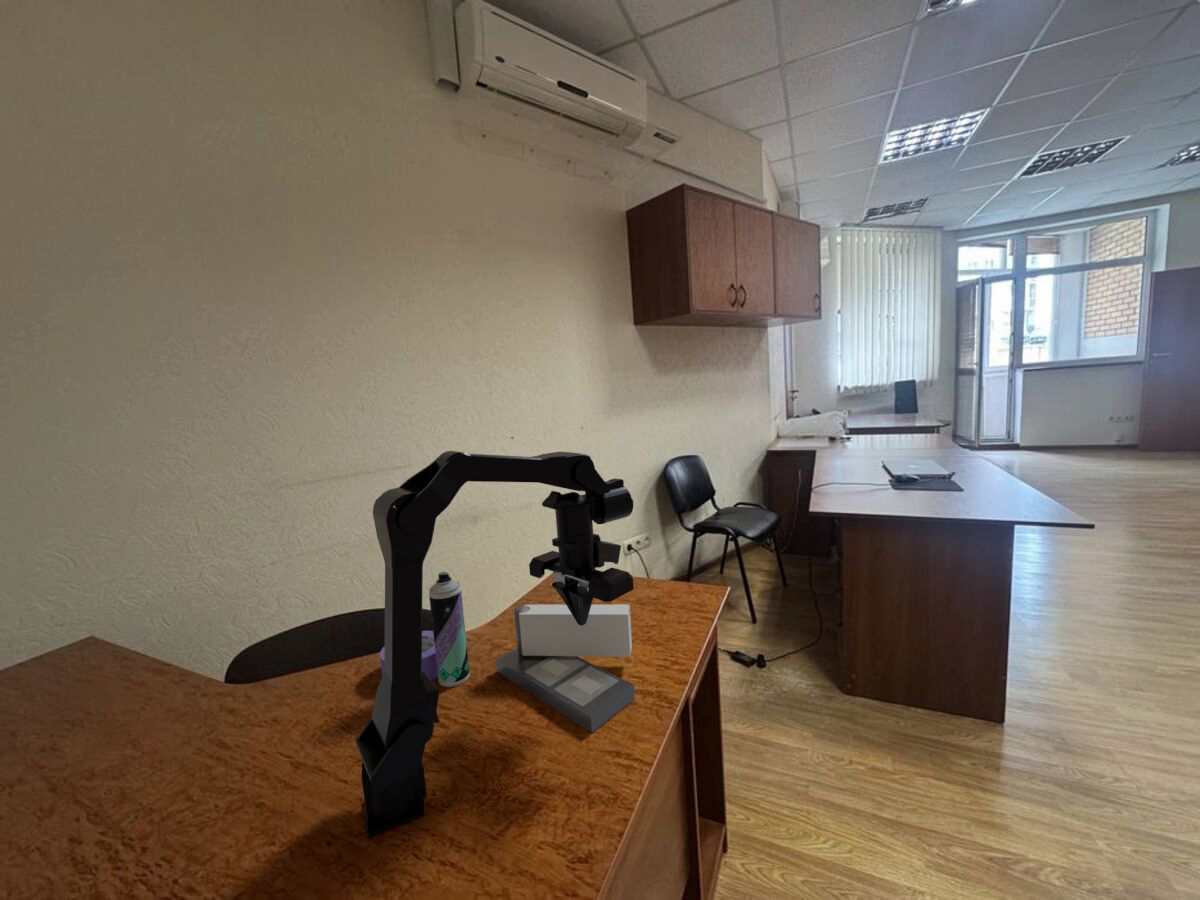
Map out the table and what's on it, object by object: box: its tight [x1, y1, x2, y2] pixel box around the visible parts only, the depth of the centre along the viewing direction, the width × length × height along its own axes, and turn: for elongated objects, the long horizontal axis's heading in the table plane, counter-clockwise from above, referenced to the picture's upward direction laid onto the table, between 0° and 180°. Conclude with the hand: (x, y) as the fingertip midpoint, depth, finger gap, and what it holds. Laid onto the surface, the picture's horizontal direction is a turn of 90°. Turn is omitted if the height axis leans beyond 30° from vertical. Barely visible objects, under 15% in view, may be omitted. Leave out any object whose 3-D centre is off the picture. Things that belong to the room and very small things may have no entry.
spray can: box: [428, 571, 471, 688], centre depth 85 cm, size 6×6×20 cm
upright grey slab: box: [513, 603, 633, 658], centre depth 87 cm, size 22×4×8 cm, turn 82°
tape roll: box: [379, 630, 438, 681], centre depth 89 cm, size 12×12×5 cm
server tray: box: [495, 648, 636, 734], centre depth 82 cm, size 10×25×3 cm, turn 46°
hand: (582, 624), depth 76 cm, fingers closed
